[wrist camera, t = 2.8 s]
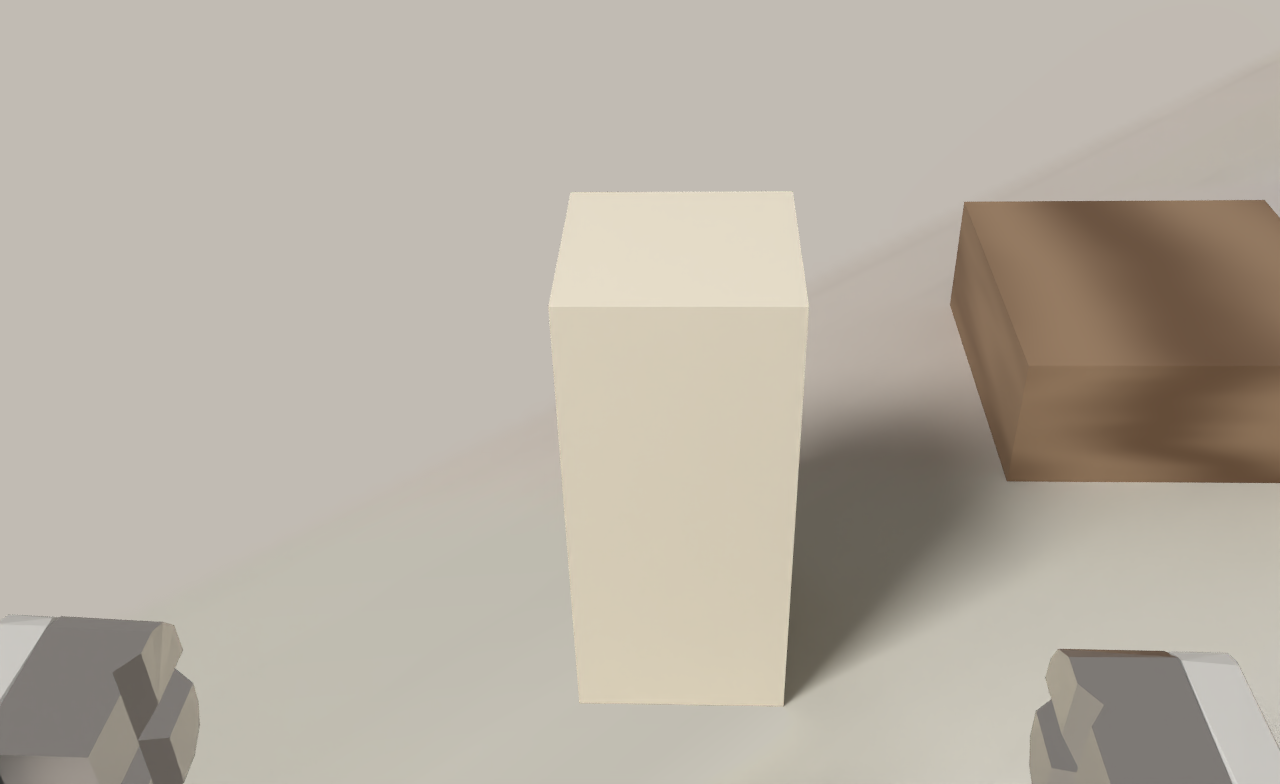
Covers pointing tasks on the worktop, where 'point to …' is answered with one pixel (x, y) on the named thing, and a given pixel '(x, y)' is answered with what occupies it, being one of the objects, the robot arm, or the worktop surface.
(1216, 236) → the walnut block
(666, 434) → the cream pillar
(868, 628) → the worktop surface
